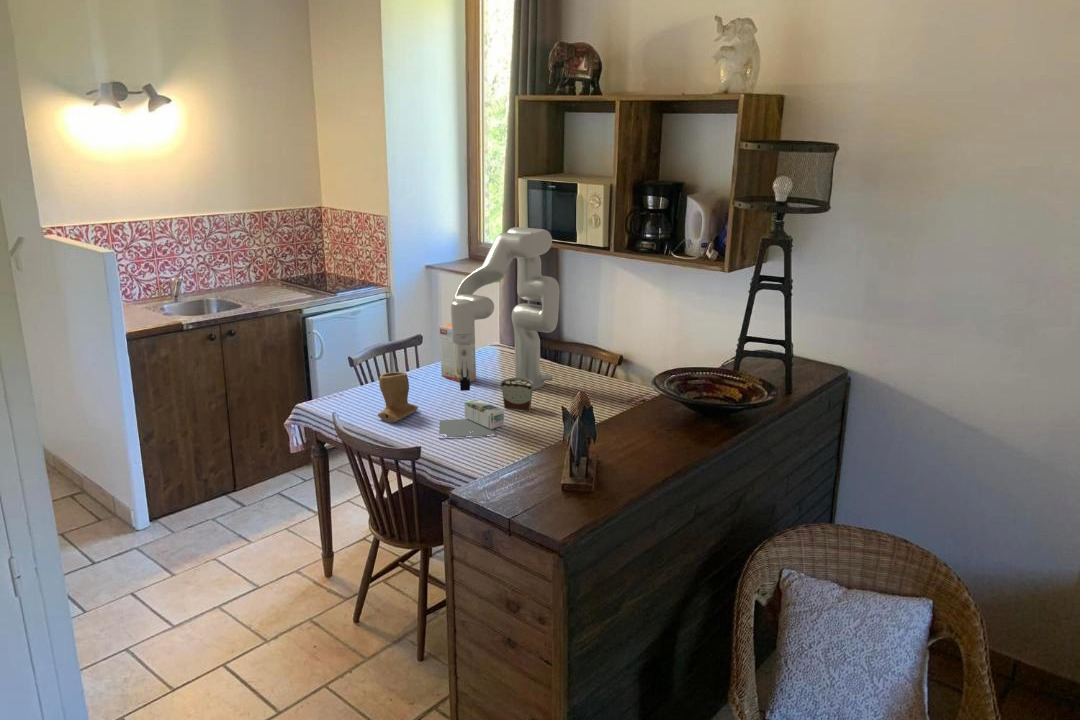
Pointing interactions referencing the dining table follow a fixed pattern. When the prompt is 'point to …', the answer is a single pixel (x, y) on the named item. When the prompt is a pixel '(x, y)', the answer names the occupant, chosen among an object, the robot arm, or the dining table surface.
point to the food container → (517, 393)
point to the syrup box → (484, 414)
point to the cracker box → (452, 355)
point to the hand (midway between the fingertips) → (465, 389)
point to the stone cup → (395, 396)
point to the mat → (463, 428)
